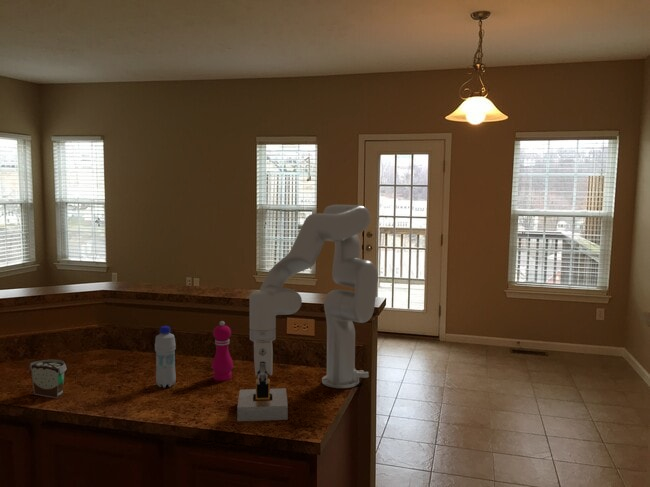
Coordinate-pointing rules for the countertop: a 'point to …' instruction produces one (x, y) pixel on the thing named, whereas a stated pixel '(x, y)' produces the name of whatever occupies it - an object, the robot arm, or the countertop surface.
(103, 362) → the countertop surface
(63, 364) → the food container
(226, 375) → the pepper mill
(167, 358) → the bottle
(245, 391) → the white flat block
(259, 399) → the wooden block
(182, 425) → the countertop surface
